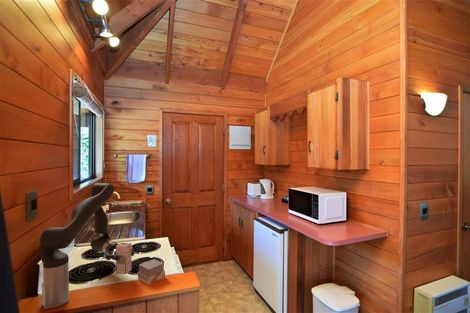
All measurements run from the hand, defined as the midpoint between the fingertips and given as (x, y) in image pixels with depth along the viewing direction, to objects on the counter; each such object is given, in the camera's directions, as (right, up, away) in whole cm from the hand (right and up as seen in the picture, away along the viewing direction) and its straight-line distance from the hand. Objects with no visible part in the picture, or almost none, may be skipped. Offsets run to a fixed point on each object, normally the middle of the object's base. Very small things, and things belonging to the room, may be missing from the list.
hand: (125, 256), depth 128 cm
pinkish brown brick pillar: (-2, -9, +1) cm, 9 cm away
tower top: (+12, -9, +3) cm, 16 cm away
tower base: (+12, -13, +3) cm, 18 cm away
